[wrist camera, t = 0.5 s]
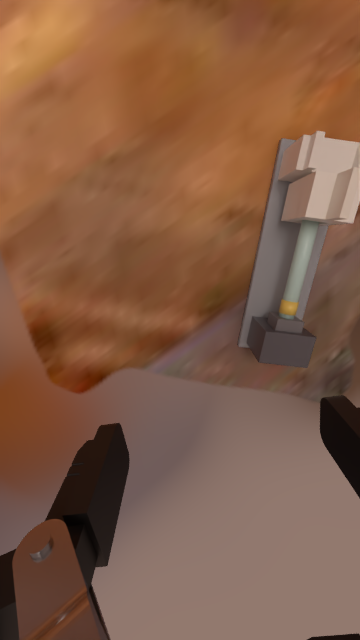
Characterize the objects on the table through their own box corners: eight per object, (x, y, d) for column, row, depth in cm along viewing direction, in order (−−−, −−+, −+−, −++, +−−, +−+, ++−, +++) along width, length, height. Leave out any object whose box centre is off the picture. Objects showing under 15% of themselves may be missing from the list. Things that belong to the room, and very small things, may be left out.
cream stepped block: (289, 184, 30) (330, 163, 22) (329, 189, 30) (386, 171, 22) (280, 220, 31) (317, 214, 23) (319, 225, 32) (369, 221, 23)
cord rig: (279, 140, 31) (308, 112, 24) (345, 150, 31) (392, 125, 24) (237, 344, 38) (249, 367, 32) (290, 350, 39) (314, 375, 32)
